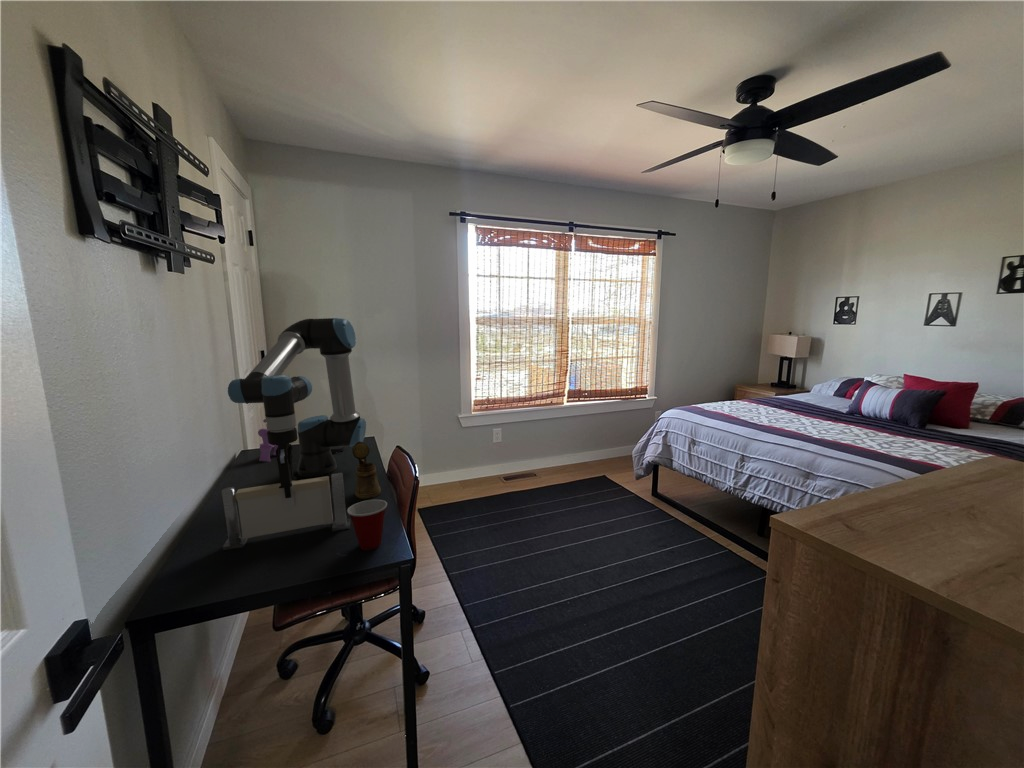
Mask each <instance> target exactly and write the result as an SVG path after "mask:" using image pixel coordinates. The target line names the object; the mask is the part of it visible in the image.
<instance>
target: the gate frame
mask: <svg viewBox="0 0 1024 768" xmlns="http://www.w3.org/2000/svg"><path fill="white" fill-rule="evenodd" d="M343 475H344V473H343V472H338V473H337V472H336V473H332V474H331V476H330V478H331V479H330V480H331V489H332V490H331V491H332V498H333V511H334V520H333V523H332V527H331V531H332V532H339V531H344V530H350V529H351V517H347V510H346V509H347V507H346V495H345V485H344V476H343ZM221 496H222V501H223V509H224V516H225V524H226V531H227V536H228V538H227V540H226V541H225V542H224V544H223V545H222V551H227V550H228V551H229V550H233V549H240V548H244V547H245V545H246V543H247V541H248V539H249V538H245V539H243V537H242V531H241V523H240V516H239V509H238V502H237V500H236V489H235V487H234V486H228V487H225V488H223V489H221Z"/></svg>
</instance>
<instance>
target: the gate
mask: <svg viewBox="0 0 1024 768" xmlns="http://www.w3.org/2000/svg"><path fill="white" fill-rule="evenodd" d="M292 485H293V492H294V501H295V507H289V508H284V500H283V491H282V488H280V489H279V486H281V483H279V482H278V483H272V484H264V485H259V486H253V487H246V488H245V487H244V488H239V489H237V491H235V495H236V502H237V509H238V516H239V524H240V531H241V536H242V537H243V539H245V538H248V539H250V538H255V537H260V536H266V535H271V534H276V533H281V532H288V531H293V530H298V529H303V528H309V527H315V526H320V525H325V526H326V525H330V524H333V521H334V518H333V508H332V507H333V506H332V497H331V495H332V494H331V487H330V476H328V475H326V476H318V477H314V478H313V477H311V478H306V479H300V480H294V481H292Z"/></svg>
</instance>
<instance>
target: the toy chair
mask: <svg viewBox="0 0 1024 768" xmlns="http://www.w3.org/2000/svg"><path fill="white" fill-rule="evenodd" d="M268 431H269V430H267V428H260V429H258V431H257V434H258V436H259V437H260V438H261V440H262V443H260V444H259V451H260V457H259V460H258V461H259V462H268V463H271V462H272V460H271V455H270V453H271V452H272V451H271V450H272V448H274V449H273V453H272V456H276V450H277V448H278V446H277V445H271V444H269V443H268V436H267V432H268Z"/></svg>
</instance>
